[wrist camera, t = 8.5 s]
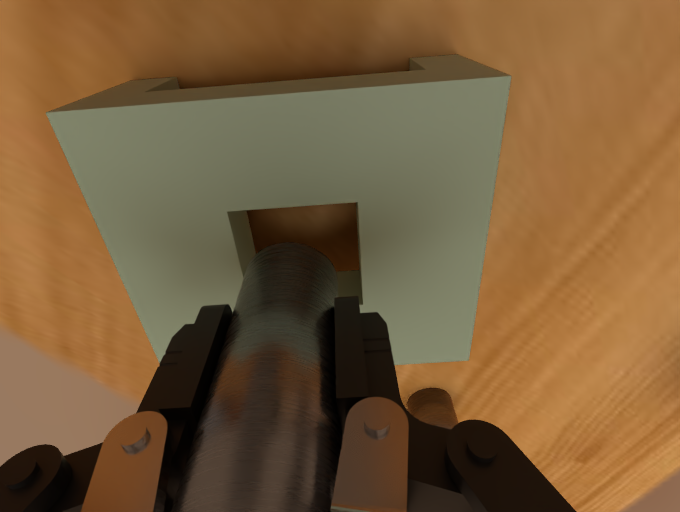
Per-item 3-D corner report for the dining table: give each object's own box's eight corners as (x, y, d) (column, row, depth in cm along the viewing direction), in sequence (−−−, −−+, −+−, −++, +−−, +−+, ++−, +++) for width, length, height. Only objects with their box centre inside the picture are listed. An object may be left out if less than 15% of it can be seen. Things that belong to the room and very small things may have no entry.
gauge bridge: (457, 54, 17) (511, 76, 12) (438, 282, 23) (468, 360, 18) (130, 80, 17) (45, 112, 12) (202, 298, 23) (167, 379, 18)
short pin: (452, 386, 28) (474, 453, 24) (449, 414, 30) (468, 481, 26) (407, 389, 28) (421, 457, 24) (406, 417, 30) (419, 484, 26)
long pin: (334, 239, 13) (344, 689, 4) (340, 314, 15) (356, 740, 6) (236, 245, 13) (60, 703, 4) (253, 319, 15) (151, 751, 6)
